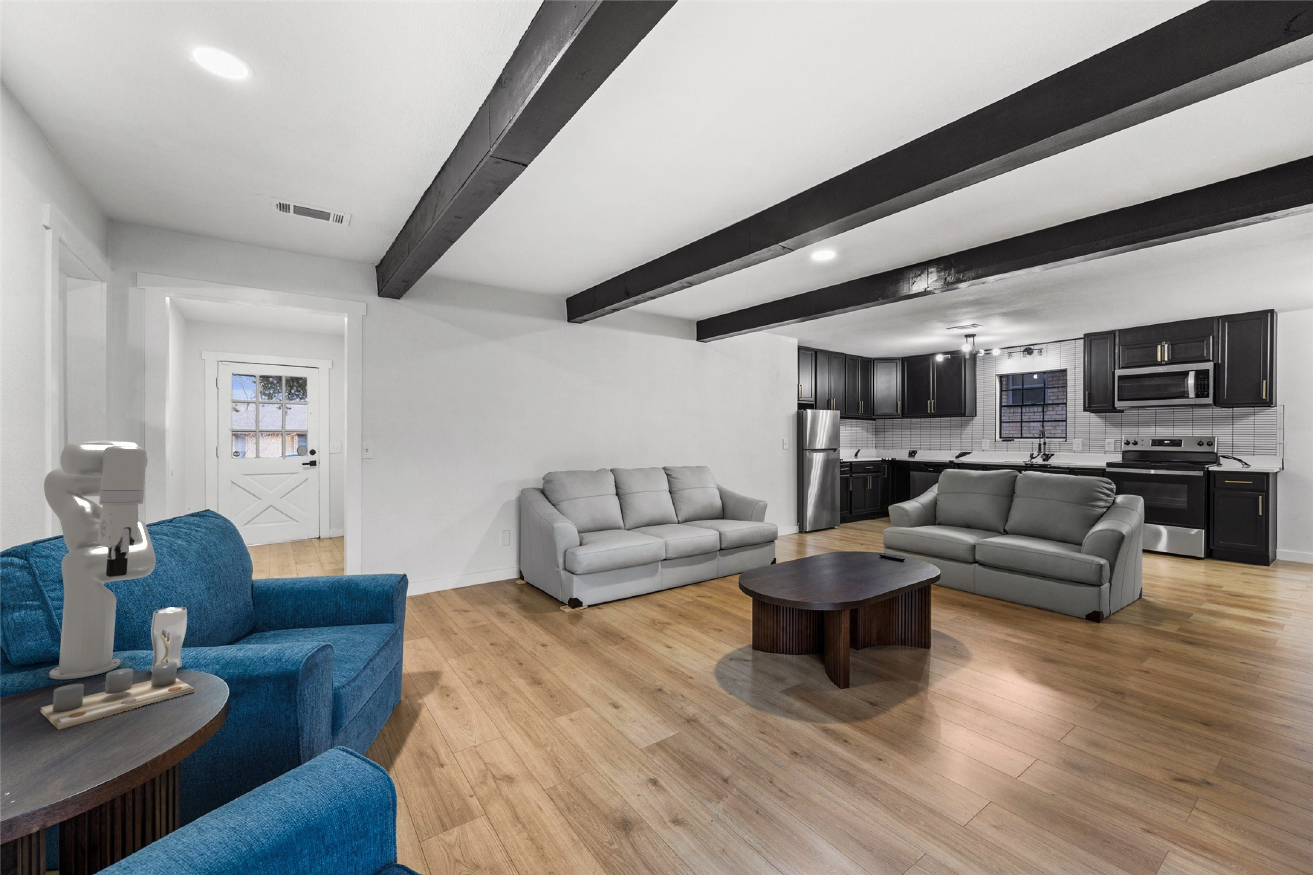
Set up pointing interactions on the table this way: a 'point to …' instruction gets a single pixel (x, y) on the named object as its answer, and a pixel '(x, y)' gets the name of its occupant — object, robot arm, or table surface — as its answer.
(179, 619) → the beer glass
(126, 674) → the button middle
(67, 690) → the button
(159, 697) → the button board
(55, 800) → the table surface
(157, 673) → the button
